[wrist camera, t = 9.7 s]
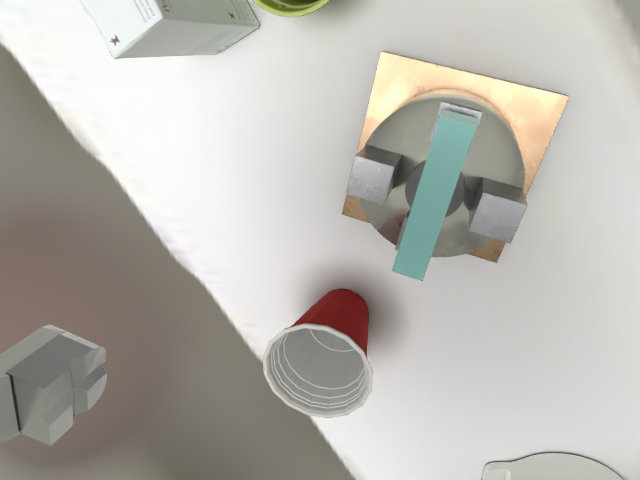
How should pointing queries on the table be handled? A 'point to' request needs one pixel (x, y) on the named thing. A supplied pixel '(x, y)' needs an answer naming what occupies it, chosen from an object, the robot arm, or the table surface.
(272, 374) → the plastic cup
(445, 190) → the teal rectangular stick
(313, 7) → the plant pot
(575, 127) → the table surface
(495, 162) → the socket
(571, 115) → the table surface
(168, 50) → the skincare box
